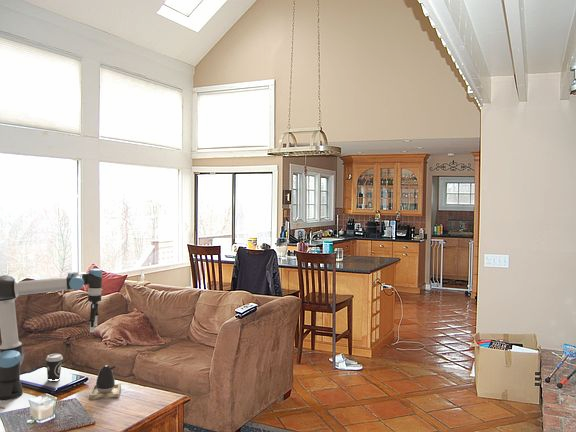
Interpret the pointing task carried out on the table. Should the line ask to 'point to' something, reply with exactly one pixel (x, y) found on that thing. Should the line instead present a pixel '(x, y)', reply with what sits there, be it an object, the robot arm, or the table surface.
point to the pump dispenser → (105, 380)
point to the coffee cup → (54, 366)
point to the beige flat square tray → (111, 395)
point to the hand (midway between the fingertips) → (93, 329)
